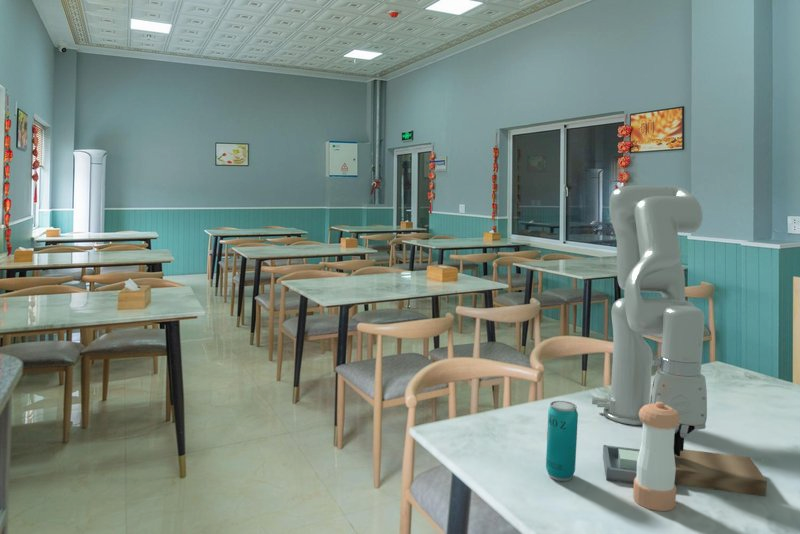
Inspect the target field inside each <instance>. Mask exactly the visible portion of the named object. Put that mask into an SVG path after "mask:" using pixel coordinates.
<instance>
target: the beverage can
mask: <svg viewBox="0 0 800 534" xmlns="http://www.w3.org/2000/svg"><path fill="white" fill-rule="evenodd" d="M549 405H550V407H549V408H548V412H547V413H548V415H547V432H546V434H547V435H546V452H545V453H546V455H545V456H546V457H545V458H546V459H545V468H546V472H547V474H548V476H549V477H550V478H551V479H552V480H555V481H558V482H567V481H568V482H569V481H571V479H572V478H573V476H574V474H575V472H576V461H577V460H576V459H577V441H578V440H577V439H578V417H579V413H578V410H577V404H575V403H573V402H570V401H566V400H555V401H550V404H549Z"/></svg>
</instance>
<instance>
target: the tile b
mask: <svg viewBox="0 0 800 534" xmlns="http://www.w3.org/2000/svg"><path fill="white" fill-rule="evenodd" d="M638 455H639V451H632V450H624V449H618V461H619V467H620V468H626V469H634V470H637V460H638Z"/></svg>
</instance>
